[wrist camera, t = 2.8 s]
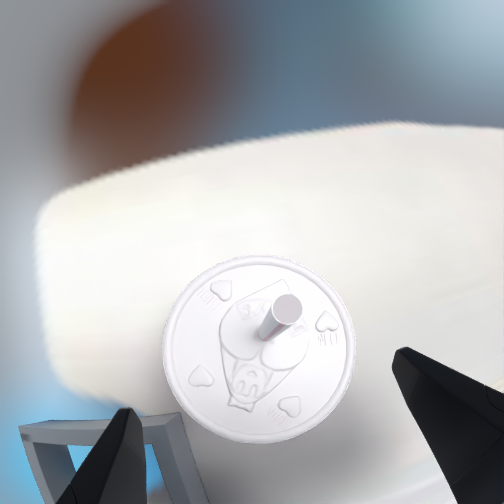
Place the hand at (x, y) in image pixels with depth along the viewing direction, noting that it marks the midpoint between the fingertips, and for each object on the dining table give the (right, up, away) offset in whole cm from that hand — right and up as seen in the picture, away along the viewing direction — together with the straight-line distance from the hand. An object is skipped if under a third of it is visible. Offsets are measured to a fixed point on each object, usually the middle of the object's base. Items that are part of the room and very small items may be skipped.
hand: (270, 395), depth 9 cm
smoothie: (-1, -2, +10) cm, 10 cm away
